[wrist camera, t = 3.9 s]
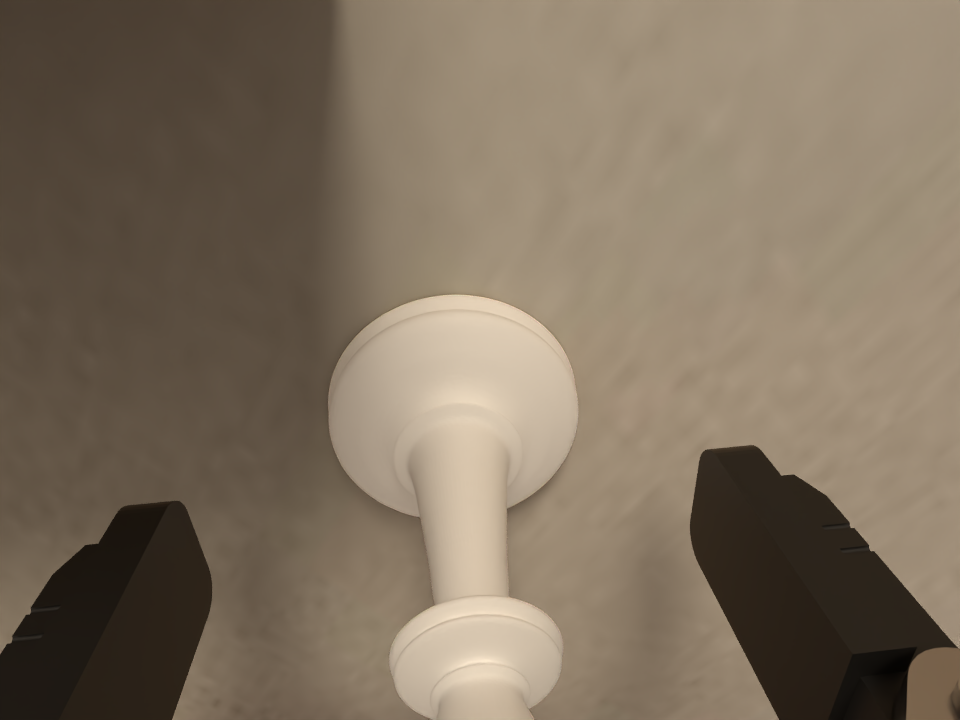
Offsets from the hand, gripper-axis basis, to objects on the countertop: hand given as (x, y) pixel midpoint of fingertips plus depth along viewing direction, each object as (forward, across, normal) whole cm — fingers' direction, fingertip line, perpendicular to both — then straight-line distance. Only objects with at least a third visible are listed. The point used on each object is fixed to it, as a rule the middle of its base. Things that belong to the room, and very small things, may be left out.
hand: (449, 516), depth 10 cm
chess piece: (+3, 0, 0) cm, 3 cm away
